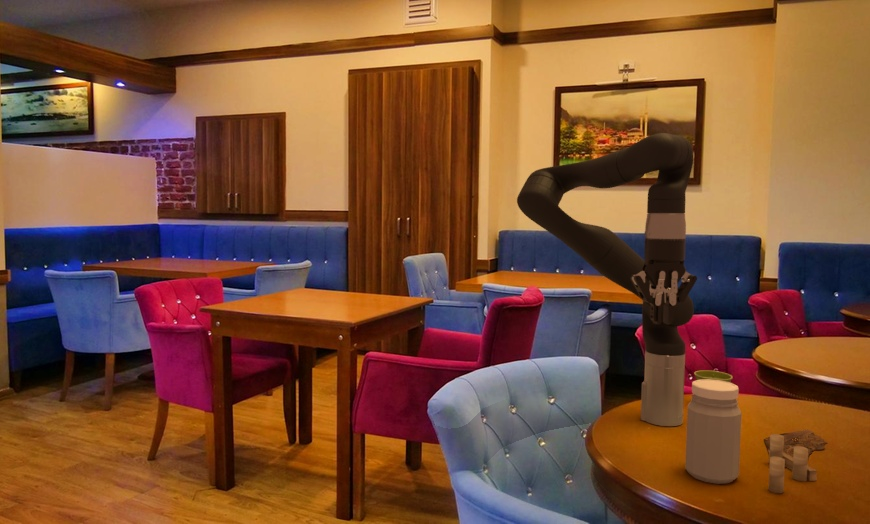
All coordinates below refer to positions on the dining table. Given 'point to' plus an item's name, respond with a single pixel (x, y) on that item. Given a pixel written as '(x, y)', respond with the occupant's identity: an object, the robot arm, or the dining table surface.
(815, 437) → the wooden fragment
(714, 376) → the plant pot
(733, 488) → the dining table surface
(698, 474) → the jar
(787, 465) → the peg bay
